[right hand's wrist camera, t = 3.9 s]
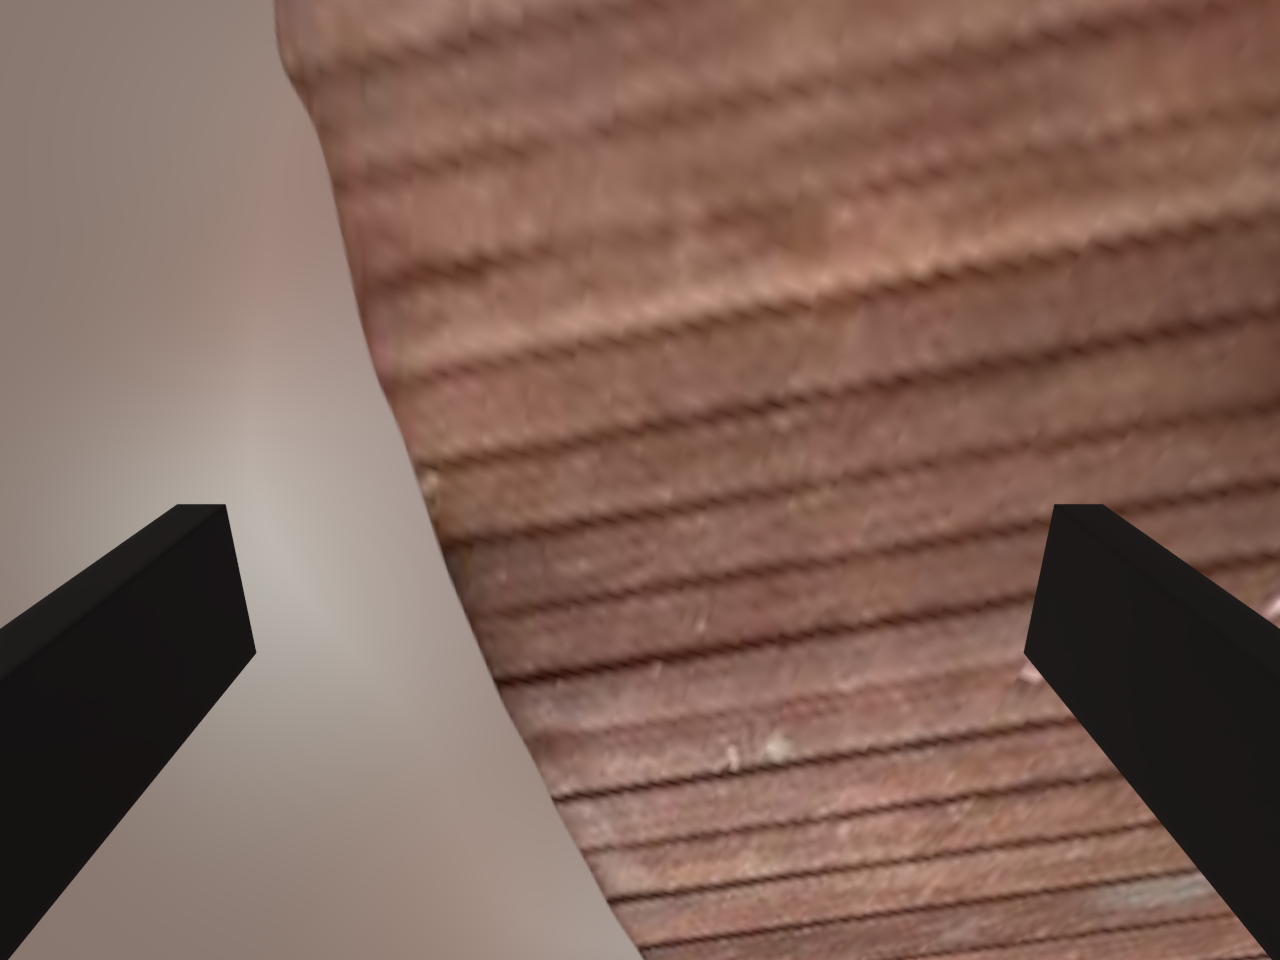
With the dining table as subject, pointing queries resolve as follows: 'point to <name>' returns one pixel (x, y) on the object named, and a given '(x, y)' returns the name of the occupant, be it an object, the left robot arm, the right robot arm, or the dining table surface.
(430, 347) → the dining table surface
